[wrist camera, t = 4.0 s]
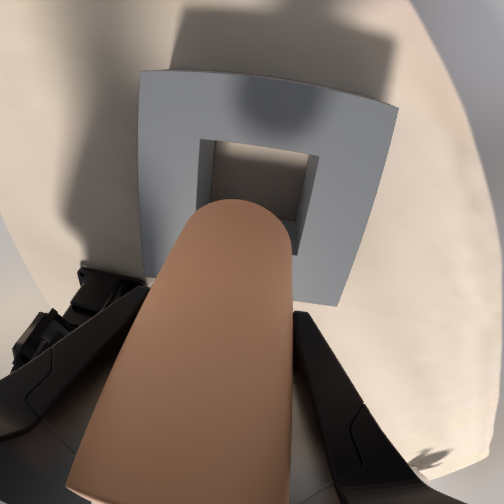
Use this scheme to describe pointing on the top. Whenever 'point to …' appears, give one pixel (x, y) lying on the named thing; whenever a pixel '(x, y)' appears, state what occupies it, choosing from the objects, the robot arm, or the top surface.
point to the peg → (202, 374)
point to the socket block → (267, 135)
